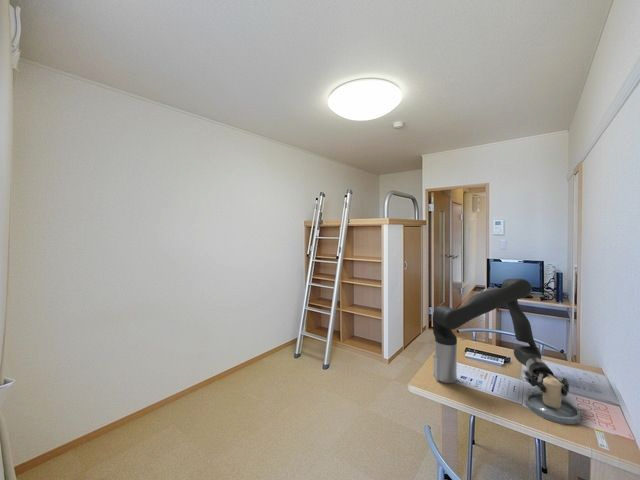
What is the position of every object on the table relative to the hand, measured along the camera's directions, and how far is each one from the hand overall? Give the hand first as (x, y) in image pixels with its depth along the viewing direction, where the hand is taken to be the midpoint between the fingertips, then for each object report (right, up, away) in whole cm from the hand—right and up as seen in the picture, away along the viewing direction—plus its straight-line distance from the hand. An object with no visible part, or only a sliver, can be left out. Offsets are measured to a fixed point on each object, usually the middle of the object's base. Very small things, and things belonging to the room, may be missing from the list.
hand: (554, 391), depth 106 cm
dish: (+1, -8, +3) cm, 9 cm away
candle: (+1, -6, +3) cm, 7 cm away
